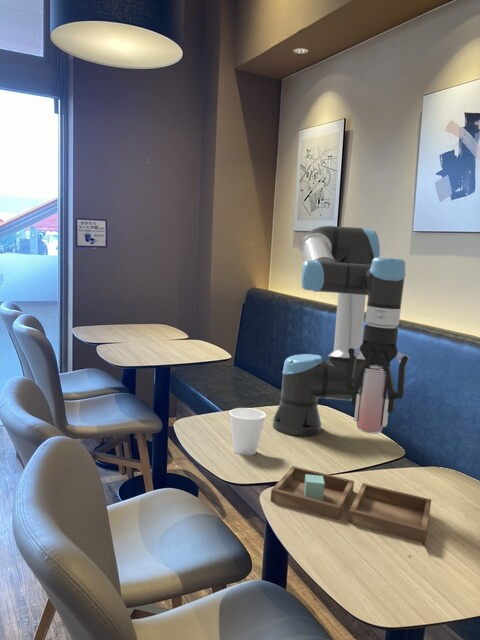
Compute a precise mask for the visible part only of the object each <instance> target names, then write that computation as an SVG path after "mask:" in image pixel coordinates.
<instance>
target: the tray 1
mask: <svg viewBox="0 0 480 640" xmlns="http://www.w3.org/2000/svg"><path fill="white" fill-rule="evenodd" d="M305 474H308V475H318V476H323V479H324V483H325V485H324V495H323V501H320V500H316V499H312V498H309V497H305V496H304V483H305ZM354 485H355V480H353V479H352V480H351V479H348V478H344V477H339V476H336V475H331V474H328V473H323V472H319V471H314V470H312V469H307V468H303V467H298V466H294V465H292V466H291V467H290V468H289V469H288V470H287V472H285V474H284V475H283V476H282V478H280V480H279V481H278V482H277V483H276V484H275V485H274V486H273V488H271V491H270V502H272V503H273V502H274V503H276V504H280V505H284V506H288V507H291V508H295V509H298V510H302V511H305V512H306V511H307V512H309V513H314V514H317V515H321V516H325V517H328V518H331V519H335V520H340V517H341V515H342V513H343V511H344V509H345V508H346V505H347V504H348V502H349V499H350V498H351V495H353V493H354V487H355V486H354Z"/></svg>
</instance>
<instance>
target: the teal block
mask: <svg viewBox="0 0 480 640" xmlns="http://www.w3.org/2000/svg"><path fill="white" fill-rule="evenodd" d="M324 485H325V483H324V479H323V476H318V475H308V474H305V483H304V496H305V497H309V498H312V499H316V500H320V501H323V495H324Z"/></svg>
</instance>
